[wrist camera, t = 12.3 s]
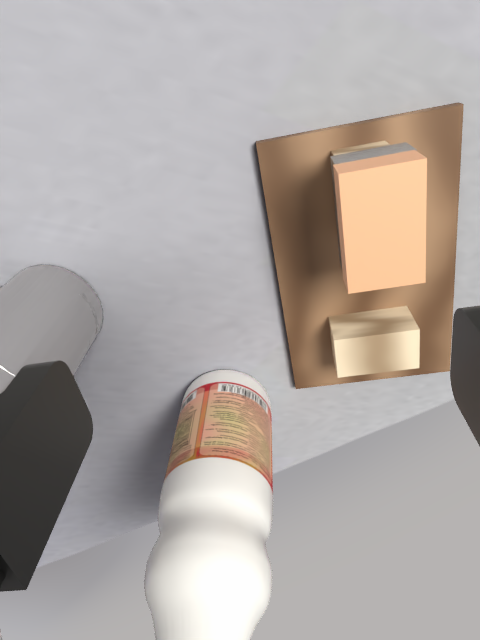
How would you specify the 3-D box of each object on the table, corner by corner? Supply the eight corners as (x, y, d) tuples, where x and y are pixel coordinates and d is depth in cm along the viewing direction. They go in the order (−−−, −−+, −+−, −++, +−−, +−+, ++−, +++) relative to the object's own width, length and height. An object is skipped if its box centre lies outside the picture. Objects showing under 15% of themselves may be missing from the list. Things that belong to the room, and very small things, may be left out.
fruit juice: (259, 358, 46) (253, 697, 22) (279, 426, 51) (293, 768, 27) (171, 375, 48) (77, 708, 24) (198, 439, 52) (143, 773, 28)
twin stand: (295, 382, 48) (298, 416, 43) (256, 141, 36) (254, 154, 31) (446, 364, 45) (465, 398, 41) (458, 102, 34) (486, 110, 29)
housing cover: (333, 164, 29) (338, 174, 27) (414, 149, 28) (426, 158, 26) (342, 277, 33) (348, 293, 31) (414, 266, 32) (425, 282, 30)
